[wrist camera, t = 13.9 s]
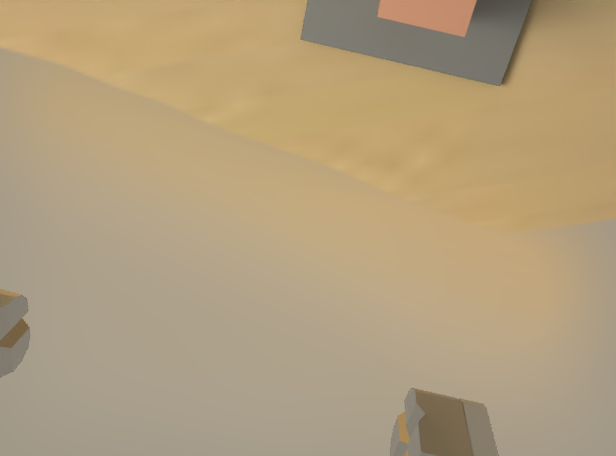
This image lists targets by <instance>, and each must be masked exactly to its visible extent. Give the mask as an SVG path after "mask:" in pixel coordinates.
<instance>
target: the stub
mask: <svg viewBox="0 0 616 456" xmlns="http://www.w3.org/2000/svg"><path fill="white" fill-rule="evenodd" d="M476 1H477V0H380V3H379V9H378V16H377V17H380V18H384V19H389V20H393V21H397V22H402V23H406V24H410V25H415V26H419V27H423V28H427V29H432V30H436V31H440V32H445V33H449V34H453V35H458V36H462V37H465V35H466V32H467V29H468V26H469V22H470V19H471V16H472V13H473V10H474V7H475V4H476Z"/></svg>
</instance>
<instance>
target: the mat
mask: <svg viewBox="0 0 616 456" xmlns="http://www.w3.org/2000/svg"><path fill="white" fill-rule="evenodd" d="M531 2H532V0H477V1H476V4H475V7H474V10H473V13H472V16H471V19H470V22H469V26H468V29H467V32H466V35H465V37H462V36H458V35H453V34H449V33H445V32H440V31H436V30H432V29H427V28H423V27H419V26H415V25H410V24H406V23H402V22H397V21H393V20H389V19H384V18H380V17H377V16H378V9H379V3H380V0H308V2H307V7H306V12H305V18H304V23H303V28H302V34H301V39H300V40H305V41H309V42H313V43H317V44H322V45H326V46H330V47H334V48H339V49H343V50H347V51H351V52H356V53H360V54H364V55H369V56H373V57H377V58H381V59H386V60H390V61H394V62H398V63H403V64H407V65H411V66H415V67H420V68H424V69H428V70H432V71H437V72H441V73H445V74H449V75H454V76H458V77H462V78H466V79H471V80H475V81H479V82H483V83H488V84H492V85H496V86H500V84H501V82H502V79H503V76H504V74H505V71H506V68H507V66H508V63H509V60H510V58H511V55H512V52H513V50H514V47H515V44H516V42H517V39H518V36H519V34H520V31H521V28H522V26H523V23H524V20H525V18H526V15H527V12H528V10H529V7H530V4H531Z"/></svg>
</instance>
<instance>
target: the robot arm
mask: <svg viewBox="0 0 616 456" xmlns="http://www.w3.org/2000/svg"><path fill="white" fill-rule="evenodd" d="M27 312H28V303H27V298H26V297H24V296H23V295H20V294H16V293H13V292H9V291H5V290H1V289H0V377H2V376H4V375H7V374H9V373H11V372H13V371H14V370H15V369H16V367H17V366H18V365H19V364H20V363H21V361H22V359H23V357H24V355H25V353H26V351H27V349H28V345H29V340H30V328H29V326H28V325H27V324H26V322H25V321H24V320H23V318H22V317H23V316H24V315H25V314H26V313H27ZM390 456H499V455H498V451H497V447H496V443H495V439H494V435H493V432H492V427H491V424H490V420H489V416H488V412H487V408H486V407H485V405H484V404H482V403H477V402H473V401H469V400H464V399H457V398H454V397H450V396H446V395H441V394H437V393H432V392H428V391H423V390H419V389H415V388H411V389H410V391H409V392H408V394H407V396H406V398H405V412H404V413H402V414H400V415H399V416H398V417H397V420H396V423H395V425H394V429H393V433H392V438H391V447H390Z"/></svg>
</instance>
